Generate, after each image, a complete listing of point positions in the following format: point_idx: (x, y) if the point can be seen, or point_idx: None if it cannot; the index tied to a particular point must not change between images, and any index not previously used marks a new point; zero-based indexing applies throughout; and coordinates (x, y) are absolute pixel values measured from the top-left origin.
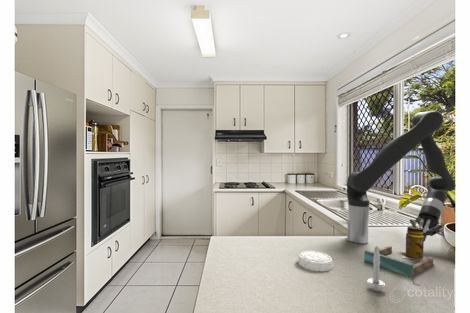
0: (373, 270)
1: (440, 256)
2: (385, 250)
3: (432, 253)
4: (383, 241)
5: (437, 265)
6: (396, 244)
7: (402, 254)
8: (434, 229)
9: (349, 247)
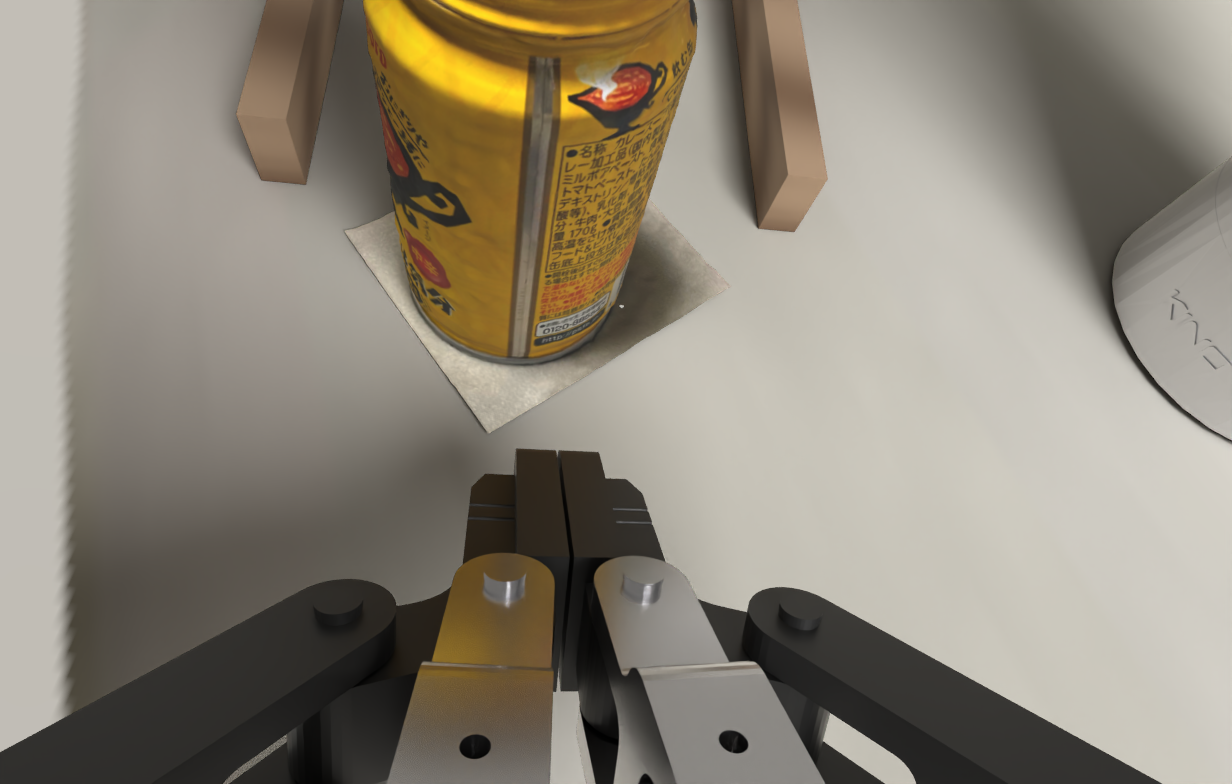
0: None
1: None
2: (760, 48)
3: None
4: (1143, 664)
5: (211, 178)
6: None
7: (643, 243)
8: (142, 708)
9: (1047, 52)
